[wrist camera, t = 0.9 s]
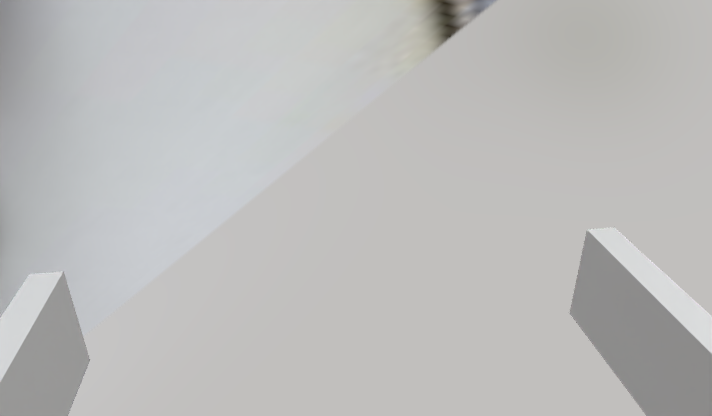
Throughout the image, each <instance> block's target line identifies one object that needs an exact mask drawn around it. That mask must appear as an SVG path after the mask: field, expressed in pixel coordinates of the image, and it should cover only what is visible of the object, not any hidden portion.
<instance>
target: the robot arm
mask: <svg viewBox="0 0 712 416" xmlns="http://www.w3.org/2000/svg"><path fill="white" fill-rule="evenodd" d="M570 315H571V316H572V317H573V319H574V320H575V321H576V323H577V324H578V325H579V327H580V328H581V329H582V331H583V332H584V333H585V335H586V336H587V337H588V338H589V340H590V341H591V342H592V344H593V345H594V346H595V348H596V349H597V350H598V352H599V353H600V354H601V356H602V357H603V358H604V360H605V361H606V362H607V364H608V365H609V366H610V368H611V369H612V370H613V372H614V373H615V374H616V376H617V377H618V378H619V379H620V381H621V382H622V384H623V385H624V386H625V388H626V389H627V390H628V392H629V393H630V394H631V396H632V397H633V398H634V400H635V401H636V402H637V404H638V405H639V406H640V408H641V409H642V410H643V412H644V413H645V414H646V416H712V316H711V315H710V314H709V313H708V312H707V311H705V310H704V309H703V308H702V307H701V306H700V305H699V304H698V303H697V302H695V301H694V300H693V299H692V298H691V297H690V296H689V295H688V294H687V293H686V292H685V291H683V290H682V289H681V288H680V287H679V286H678V285H677V284H676V283H675V282H673V281H672V280H671V279H670V278H669V277H668V276H667V275H666V274H665V273H664V272H662V271H661V270H660V269H659V268H658V267H657V266H656V265H655V264H654V263H652V261H650V260H649V259H648V258H647V257H646V256H645V255H644V254H643V253H642V252H640V251H639V250H638V249H637V248H636V247H635V246H634V245H633V244H632V243H631V242H630V241H628V240H627V239H626V238H625V237H624V236H623V235H622V234H621V233H620V232H619V231H617V230H616V229H615V228H602V229H589V230H587V232H586V237H585V241H584V246H583V251H582V256H581V261H580V266H579V270H578V275H577V280H576V285H575V290H574V295H573V299H572V304H571V309H570ZM89 361H90V359H89V355H88V352H87V349H86V345H85V342H84V339H83V335H82V332H81V329H80V325H79V322H78V318H77V315H76V312H75V308H74V305H73V302H72V298H71V295H70V292H69V288H68V285H67V281H66V278H65V275H64V271H62V272H49V273H37V274H29V275H28V277H27V278H26V280H25V281H24V283H23V284H22V286H21V287H20V289H19V290H18V292H17V293H16V295H15V296H14V298H13V299H12V301H11V302H10V304H9V305H8V307H7V308H6V310H5V312H4V313H3V315H2V316H1V318H0V416H68V414H69V411H70V408H71V406H72V404H73V401H74V399H75V396H76V394H77V391H78V389H79V386H80V384H81V381H82V378H83V376H84V374H85V371H86V369H87V366H88V364H89Z"/></svg>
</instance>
